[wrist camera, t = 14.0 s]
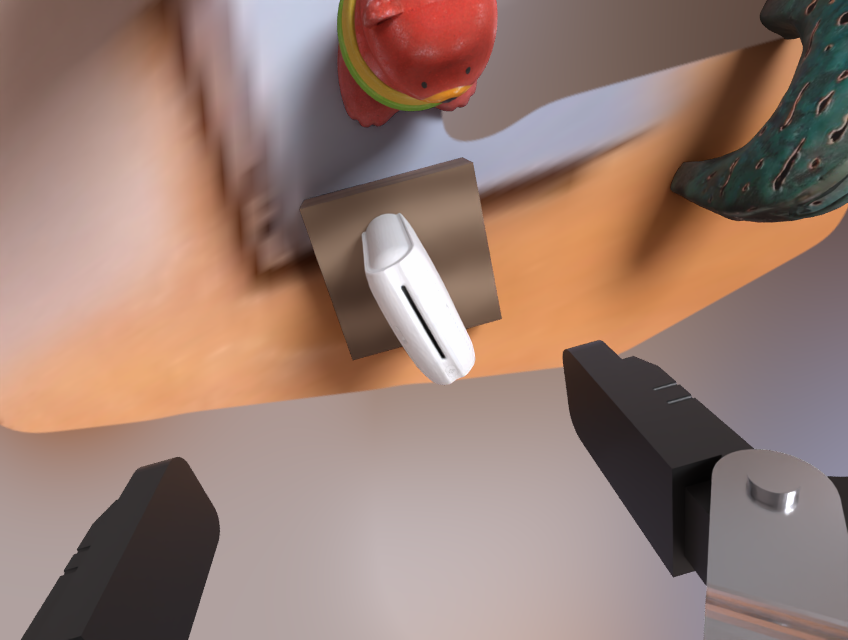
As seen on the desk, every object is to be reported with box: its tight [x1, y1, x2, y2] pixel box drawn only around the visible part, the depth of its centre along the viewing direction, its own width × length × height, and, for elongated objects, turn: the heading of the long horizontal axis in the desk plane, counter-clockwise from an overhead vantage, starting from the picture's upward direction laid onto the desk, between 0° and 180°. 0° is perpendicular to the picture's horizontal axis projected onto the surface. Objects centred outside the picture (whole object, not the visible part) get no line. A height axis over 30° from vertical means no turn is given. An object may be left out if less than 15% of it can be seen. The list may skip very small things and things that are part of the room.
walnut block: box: [299, 157, 502, 360], centre depth 42 cm, size 14×14×4 cm
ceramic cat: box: [671, 0, 848, 222], centre depth 33 cm, size 20×6×20 cm, turn 159°
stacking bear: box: [337, 0, 497, 127], centre depth 29 cm, size 11×10×18 cm
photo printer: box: [362, 213, 475, 385], centre depth 35 cm, size 10×4×12 cm, turn 27°
